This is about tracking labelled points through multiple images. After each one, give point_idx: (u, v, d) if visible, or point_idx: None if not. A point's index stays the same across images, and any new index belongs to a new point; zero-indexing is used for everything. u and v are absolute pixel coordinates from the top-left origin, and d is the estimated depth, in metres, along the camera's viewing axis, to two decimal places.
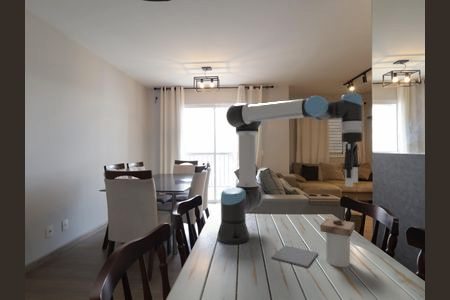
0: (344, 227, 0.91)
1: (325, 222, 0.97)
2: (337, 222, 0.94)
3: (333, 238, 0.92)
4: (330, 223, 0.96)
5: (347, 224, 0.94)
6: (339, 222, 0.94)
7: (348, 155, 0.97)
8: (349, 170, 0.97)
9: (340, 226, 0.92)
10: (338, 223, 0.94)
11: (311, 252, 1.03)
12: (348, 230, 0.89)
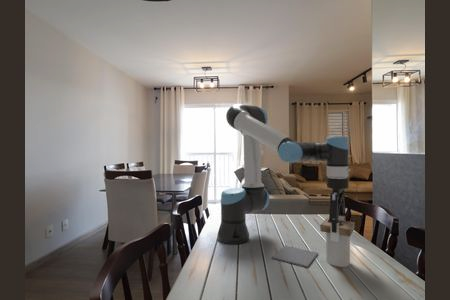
0: (344, 227, 0.91)
1: (325, 222, 0.97)
2: None
3: None
4: None
5: (347, 224, 0.94)
6: (339, 222, 0.94)
7: (333, 208, 0.89)
8: (334, 224, 0.90)
9: (340, 226, 0.92)
10: None
11: (311, 252, 1.03)
12: (348, 230, 0.89)
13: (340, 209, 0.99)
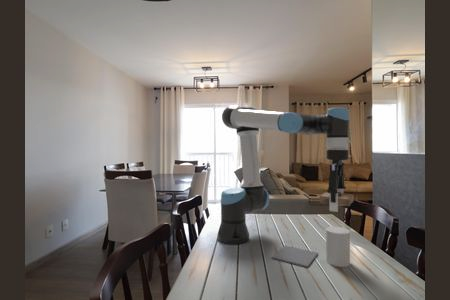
0: (343, 197, 0.91)
1: (324, 194, 0.97)
2: None
3: (333, 238, 0.92)
4: (329, 195, 0.96)
5: (346, 196, 0.94)
6: (338, 193, 0.94)
7: (332, 178, 0.89)
8: (333, 194, 0.90)
9: (339, 197, 0.92)
10: None
11: (311, 252, 1.03)
12: (347, 200, 0.89)
13: (339, 182, 0.99)
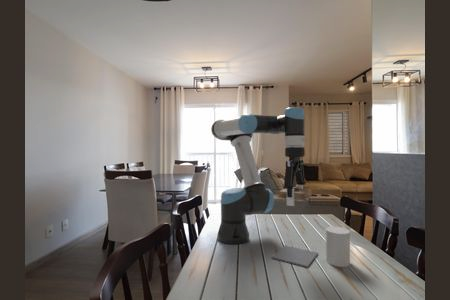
0: (299, 192, 0.96)
1: (284, 190, 1.02)
2: (294, 188, 0.99)
3: (333, 238, 0.92)
4: None
5: (303, 191, 0.99)
6: (296, 189, 0.99)
7: (288, 173, 0.94)
8: (289, 189, 0.95)
9: (296, 191, 0.97)
10: (295, 189, 0.99)
11: (311, 252, 1.03)
12: (302, 194, 0.94)
13: (299, 178, 1.04)
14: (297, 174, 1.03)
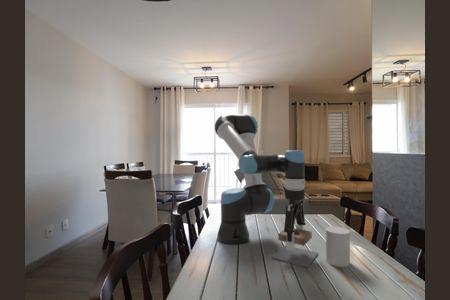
0: (299, 236, 0.96)
1: None
2: (294, 231, 0.99)
3: (333, 238, 0.92)
4: None
5: (303, 233, 0.99)
6: (296, 231, 0.99)
7: (288, 218, 0.94)
8: (289, 234, 0.95)
9: (296, 235, 0.97)
10: (295, 232, 0.99)
11: (311, 252, 1.03)
12: (302, 239, 0.94)
13: (299, 219, 1.04)
14: (297, 215, 1.03)
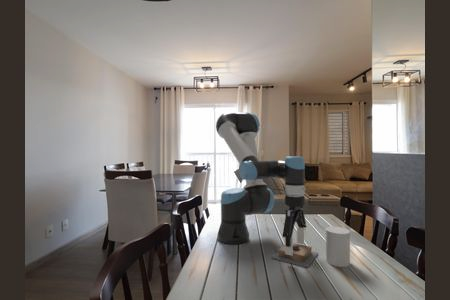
0: (299, 253, 0.96)
1: (284, 247, 1.02)
2: (294, 247, 0.99)
3: (333, 238, 0.92)
4: None
5: (303, 249, 0.99)
6: (296, 247, 0.99)
7: (287, 223, 0.94)
8: (288, 239, 0.94)
9: (296, 251, 0.98)
10: (295, 248, 0.99)
11: None
12: (302, 256, 0.94)
13: (300, 222, 1.05)
14: (298, 219, 1.04)
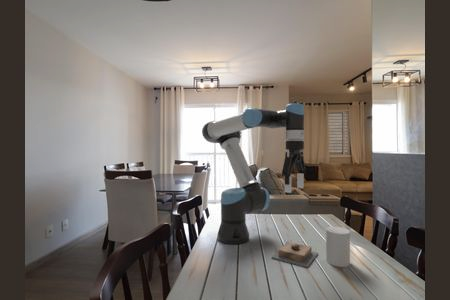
0: (299, 253, 0.96)
1: (284, 247, 1.02)
2: (294, 247, 0.99)
3: (333, 238, 0.92)
4: (288, 248, 1.01)
5: (303, 249, 0.99)
6: (296, 247, 0.99)
7: (286, 163, 1.02)
8: (287, 177, 1.02)
9: (296, 251, 0.98)
10: (295, 248, 0.99)
11: None
12: (302, 256, 0.94)
13: (299, 168, 1.13)
14: (298, 165, 1.12)
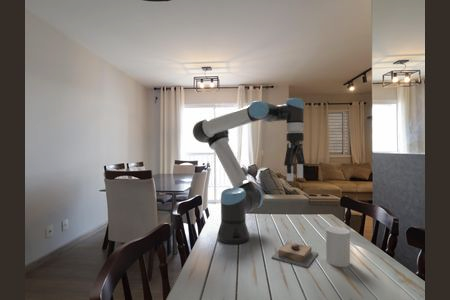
0: (299, 253, 0.96)
1: (284, 247, 1.02)
2: (294, 247, 0.99)
3: (333, 238, 0.92)
4: (288, 248, 1.01)
5: (303, 249, 0.99)
6: (296, 247, 0.99)
7: (288, 153, 1.09)
8: (289, 166, 1.09)
9: (296, 251, 0.98)
10: (295, 248, 0.99)
11: None
12: (302, 256, 0.94)
13: (299, 159, 1.20)
14: (297, 156, 1.19)
